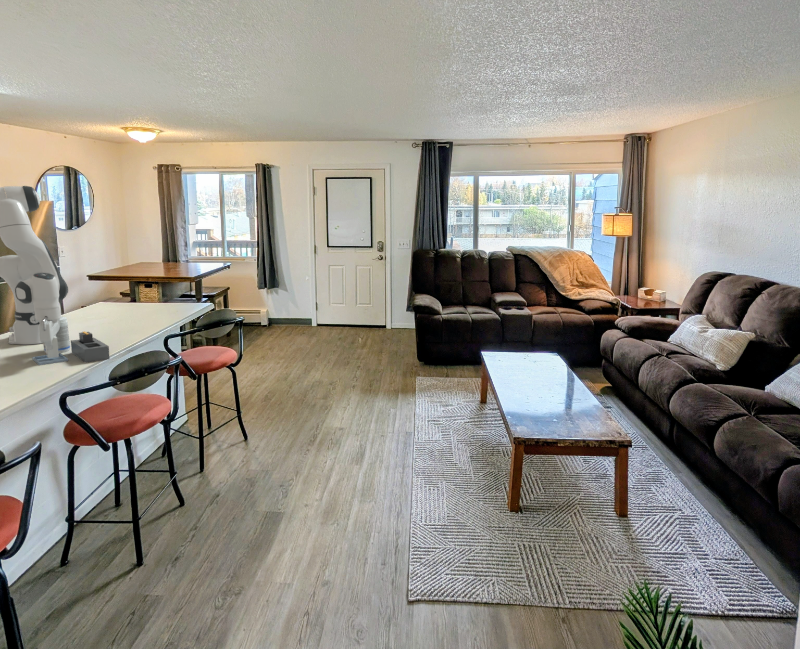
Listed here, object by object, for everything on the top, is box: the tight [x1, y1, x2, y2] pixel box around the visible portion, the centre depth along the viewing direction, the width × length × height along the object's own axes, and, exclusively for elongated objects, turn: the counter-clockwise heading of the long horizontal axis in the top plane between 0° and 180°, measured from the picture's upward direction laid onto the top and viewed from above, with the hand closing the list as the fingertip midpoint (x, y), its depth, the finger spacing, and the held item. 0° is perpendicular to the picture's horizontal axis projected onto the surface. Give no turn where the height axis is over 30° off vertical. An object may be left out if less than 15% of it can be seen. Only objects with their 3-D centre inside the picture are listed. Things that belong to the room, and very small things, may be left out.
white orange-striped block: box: [45, 336, 59, 358], centre depth 215 cm, size 5×4×8 cm
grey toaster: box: [70, 331, 110, 363], centre depth 223 cm, size 18×9×10 cm, turn 46°
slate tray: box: [31, 353, 69, 366], centre depth 215 cm, size 10×10×2 cm
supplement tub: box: [42, 316, 71, 354], centre depth 228 cm, size 10×10×15 cm
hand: (51, 347), depth 215 cm, fingers closed on white orange-striped block, 6 cm apart
